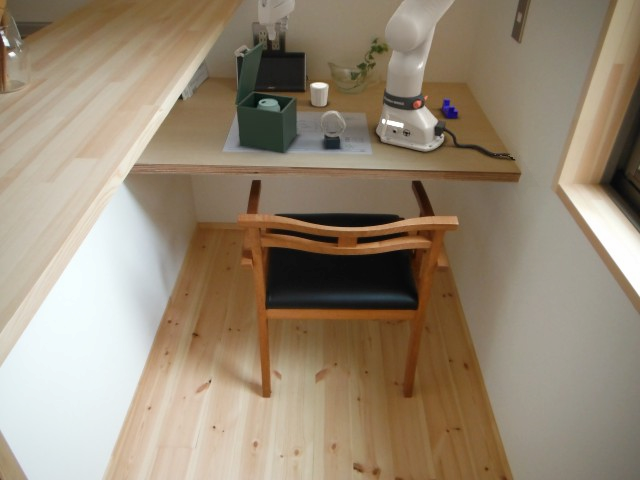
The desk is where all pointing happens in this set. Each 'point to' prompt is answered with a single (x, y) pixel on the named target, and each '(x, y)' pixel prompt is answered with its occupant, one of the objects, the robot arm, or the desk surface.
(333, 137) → the watch
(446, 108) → the cable holder
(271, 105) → the can
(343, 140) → the desk surface
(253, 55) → the lid
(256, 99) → the trash can
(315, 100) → the white cup
